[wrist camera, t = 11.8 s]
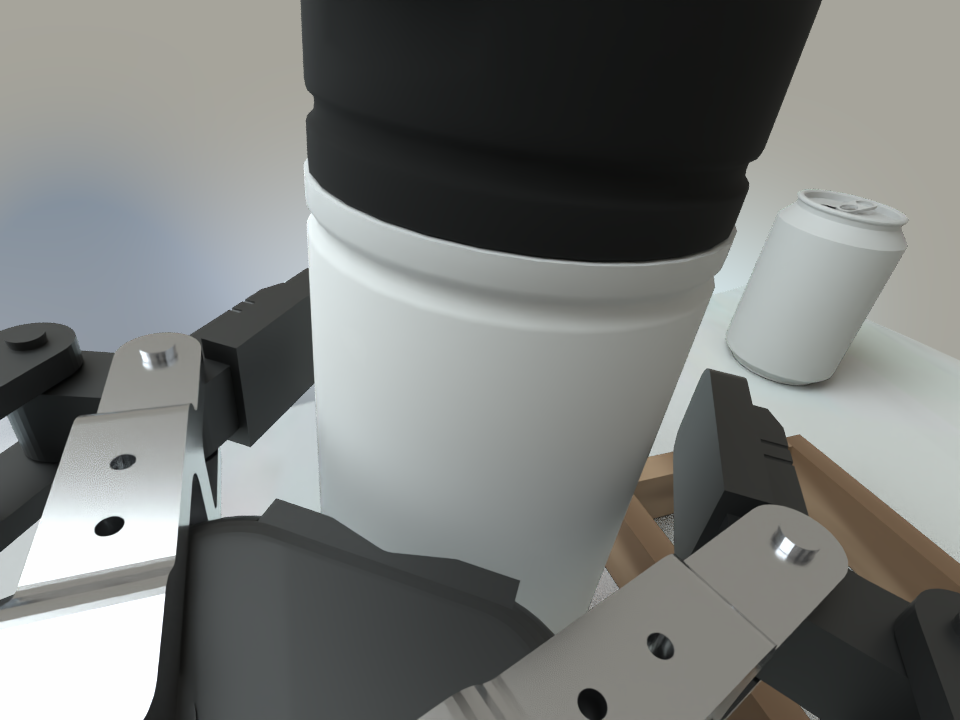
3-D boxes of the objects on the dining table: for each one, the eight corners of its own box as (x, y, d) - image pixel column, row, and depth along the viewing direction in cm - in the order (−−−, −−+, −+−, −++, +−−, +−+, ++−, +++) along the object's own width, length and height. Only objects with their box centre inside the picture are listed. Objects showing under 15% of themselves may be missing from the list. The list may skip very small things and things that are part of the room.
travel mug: (277, 745, 16) (113, -202, 5) (420, 588, 21) (491, -72, 10) (446, 921, 13) (831, -256, 3) (565, 694, 18) (873, -43, 7)
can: (700, 338, 42) (763, 181, 35) (773, 332, 44) (845, 184, 38) (772, 398, 36) (863, 222, 30) (852, 386, 39) (952, 223, 32)
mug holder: (767, 468, 30) (790, 427, 28) (1015, 697, 21) (1072, 654, 19) (572, 516, 25) (587, 470, 24) (779, 837, 16) (827, 797, 14)
